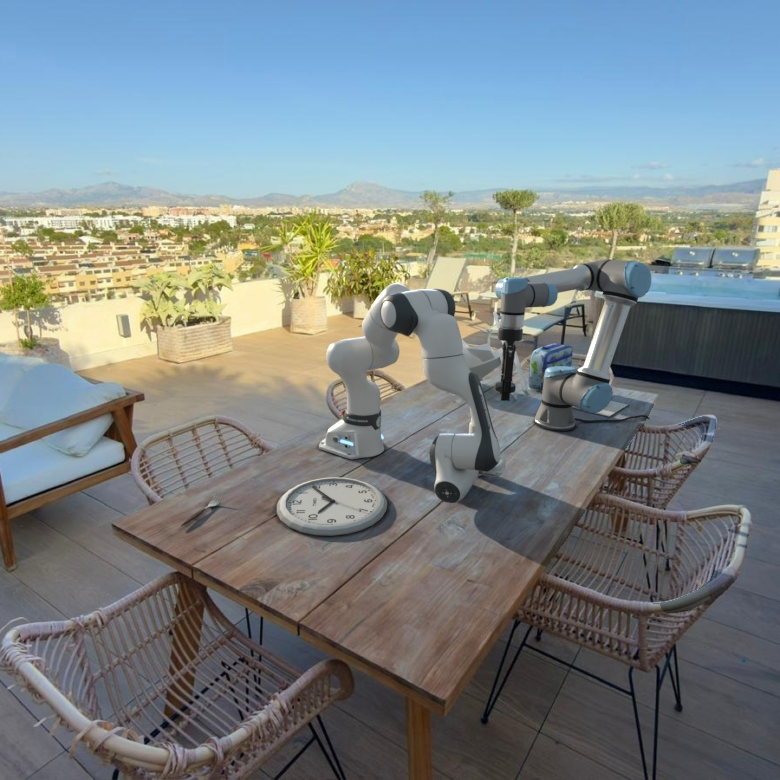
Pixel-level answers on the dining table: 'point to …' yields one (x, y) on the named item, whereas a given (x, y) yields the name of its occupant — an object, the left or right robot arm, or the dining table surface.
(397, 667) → the dining table surface
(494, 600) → the dining table surface
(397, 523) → the dining table surface
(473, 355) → the white plastic object
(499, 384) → the lid
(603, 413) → the invitation card
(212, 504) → the fork
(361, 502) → the wall clock
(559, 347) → the lunch box
